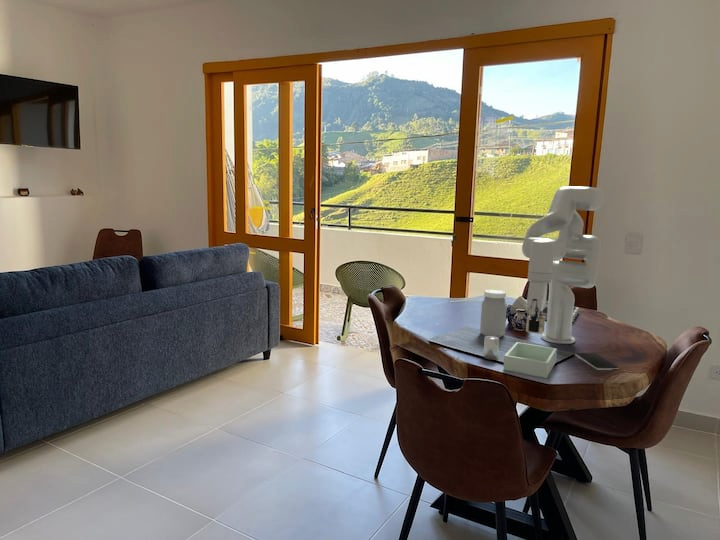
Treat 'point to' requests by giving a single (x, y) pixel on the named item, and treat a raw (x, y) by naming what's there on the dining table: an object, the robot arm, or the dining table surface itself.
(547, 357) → the tote
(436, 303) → the dining table surface
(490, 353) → the aluminium cylinder
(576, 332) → the dining table surface
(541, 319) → the maple cube
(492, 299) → the jar
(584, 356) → the smartphone
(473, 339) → the dining table surface
